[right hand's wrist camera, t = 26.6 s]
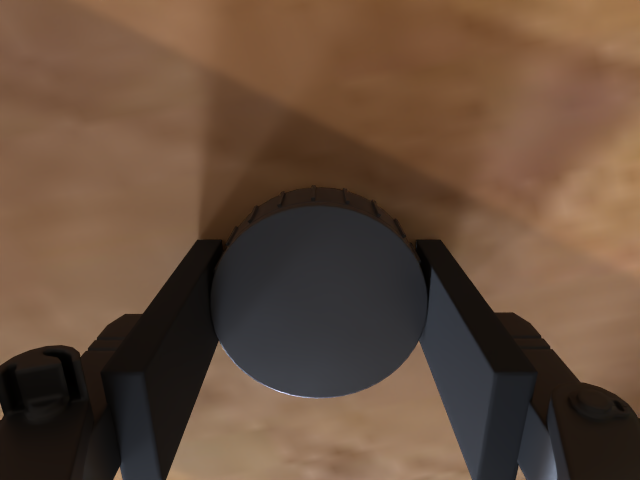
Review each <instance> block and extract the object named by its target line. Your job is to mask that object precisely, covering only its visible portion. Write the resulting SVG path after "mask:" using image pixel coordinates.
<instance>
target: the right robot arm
mask: <svg viewBox="0 0 640 480" xmlns="http://www.w3.org/2000/svg"><path fill="white" fill-rule="evenodd" d="M415 251H416V252H417V254H418V256H419V258H420V260H421V262H422V263H420V266H421V269H422V271H423V273H424V277H425V281H426V285H427V293H428V312H427V317H426V322H425V326H424V329H423V331H422V334H421V337H420V339H419V341H420V344H421V346H422V349H423V352H424V354H425V357H426V359H427V362H428V365H429V367H430V370H431V373H432V375H433V378H434V380H435V383H436V386H437V388H438V391H439V394H440V396H441V399H442V401H443V404H444V407H445V409H446V412H447V415H448V417H449V420H450V423H451V425H452V428H453V430H454V433H455V436H456V438H457V441H458V444H459V446H460V449H461V451H462V454H463V457H464V459H465V462H466V465H467V467H468V470H469V472H470V475H471V478H472V480H516V475H517V470H518V465H519V466H520V468H521V470H522V472H523V474H524V476H525V478H526V480H640V418H638V417H637V415H636V414H635V412H634V411H633V410H632V408H631V407H630V406H629V405H628V404H627V403H626V402H625V401H623V400H622V399H621V398H619V397H618V396H617V395H615V394H613V393H611V392H609V391H607V390H605V389H603V388H601V387H598V386H594V385H590V384H587V383H581V382H580V381H579V380H578V379H577V378H576V376H575V375H574V374H573V373H572V372H571V371H570V369H569V368H568V367H567V366H566V365H565V364H564V362H563V361H562V360H561V359H560V358H559V356H558V355H557V354H556V353H555V352H554V351H553V349H550V346H549V345H548V343H547V342H546V341H545V340H544V339H541V335H540V334H539V333H538V332H537V331H536V329H535V328H534V327H533V326H532V325H531V323H529V322H527V321H526V320H524V319H523V318H521V317H519V316H518V315H516V314H515V313H494V312H493V310H492V309H491V308H490V306H489V305H488V304H487V302H486V301H485V300H484V298H483V297H482V296H481V294H480V293H479V291H478V290H477V289H476V287H475V286H474V285H473V283H472V282H471V281H470V279H469V278H468V277H467V275H466V274H465V272H464V271H463V270H462V268H461V267H460V266H459V264H458V263H457V262H456V260H455V259H454V258H453V256H452V255H451V253H450V252H449V251H448V249H447V248H446V247H445V245H444V244H443V243H442V241H441V240H416V249H415ZM222 253H223V250H222V240H197V241H196V242H195V244H194V245H193V246H192V248H191V249H190V251H189V252H188V253H187V255H186V256H185V257H184V259H183V260H182V261H181V263H180V264H179V265H178V267H177V268H176V270H175V271H174V272H173V274H172V275H171V276H170V278H169V279H168V280H167V282H166V283H165V285H164V286H163V287H162V289H161V290H160V291H159V293H158V294H157V295H156V297H155V298H154V299H153V301H152V302H151V304H150V305H149V306H148V308H147V309H146V310H145V312H144V313H143V314H124V315H123V316H121V317H120V318H118V319H116V320H115V321H113V322H112V323H110V324H108V325H107V326H106V328H105V329H104V330H103V331H102V332H101V334H100V335H99V336H98V337H97V340H95V341H94V342H93V343H92V344H91V345H90V347H89V348H88V351H85V353H84V354H83V355H82V356H81V357H80V353H79V352H78V351H77V350H75V349H74V348H73V347H68V346H63V345H57V346H45V347H41V348H37V349H33V350H29V351H27V352H24V353H22V354H19V355H17V356H15V357H13V358H11V359H10V360H8V361H7V362H5V363H3V364H2V365H0V404H1V407H2V410H3V413H4V416H3V418H2V420H0V480H113V479H114V477H115V475H116V473H117V471H118V469H119V467H120V469H121V474H122V479H123V480H166V478H167V476H168V473H169V470H170V468H171V465H172V462H173V460H174V457H175V454H176V452H177V449H178V447H179V444H180V441H181V439H182V436H183V433H184V431H185V428H186V425H187V423H188V420H189V418H190V415H191V412H192V410H193V407H194V404H195V402H196V399H197V396H198V394H199V391H200V389H201V386H202V383H203V381H204V378H205V375H206V373H207V370H208V367H209V365H210V362H211V360H212V357H213V354H214V352H215V349H216V346H217V344H218V341H219V339H218V337H217V335H216V333H215V330H214V326H213V323H212V319H211V312H210V291H211V284H212V280H213V277H214V274H215V273H213V271H214V268H215V266H216V264H217V263H218V261H219V259H220V257H221V255H222Z"/></svg>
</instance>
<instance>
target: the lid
mask: <svg viewBox="0 0 640 480" xmlns="http://www.w3.org/2000/svg"><path fill="white" fill-rule="evenodd" d="M226 245H227V248H226V250H225V252H224V251H223V253H222V255H221V257H220V259H219V261H218V263H217V264H216V266H215V268H214V271H213V273H215V274H214V277H213V280H212V284H211V291H210V312H211V319H212V323H213V326H214V330H215V333H216V335H217V337H218V339H219V341H220V344H221V345H222V347H223V348H224V350H225V352H226V353H227V355H228V356H229V357H230V358H231V359H232V361H233V362H234V363H235V364H236V365H237V366H238V367H239V368H240V369H241V370H242V371H243V372H245V373H246V374H247V375H249V376H250V377H251V378H253V379H254V380H256V381H258V382H259V383H261V384H263V385H265V386H267V387H269V388H271V389H274V390H276V391H279V392H282V393H285V394H289V395H293V396H299V397H306V398H332V397H339V396H345V395H348V394H352V393H356V392H359V391H361V390H364V389H367V388H369V387H371V386H373V385H375V384H377V383H379V382H380V381H382V380H383V379H385V378H386V377H388V376H389V375H391V374H392V373H393V372H394V371H395V370H396V369H398V368H399V367H400V366H401V365H402V364H403V362H404V361H405V360H406V359H407V358H408V357H409V355H410V354H411V352H412V351H413V350H414V348H415V346H416V345H417V343H418V341H419V339H420V337H421V334H422V331H423V329H424V326H425V322H426V317H427V312H428V293H427V285H426V281H425V277H424V273H423V271H422V269H421V266H420V263H422V262H421V260H420V258H419V256H418V254H417V252H416V251H415V249H414V247H413V245H412V243H408V241H407V239H406V235H405V233H404V232H403V230H402V228H401V226H400V224H399V222H398V220H397V219H395V220H393V219H392V218H391V217H390V216H389V215H388V214H387V213H386V212H385V211H384V210H383V209H381V208H380V207H378V206H377V204H376V202H375V201H374V200H372V201H369V200H367V199H365V198H363V197H361V196H359V195H356V194H353V193H351V192H348V191H347V189H345V188H343V190H338V189H332V188H316V186H315V185H312V188H306V189H300V190H294V191H291V192H288V193H285V191H283V192H281V194H280V195H279V196H277V197H275V198H273V199H270V200H269V201H267V202H265V203H264V204H262V205H261V206H259V207H258V206H257V205H256V206H255V207H254V209H253V211H252V213H251V214H249V215H248V217H247V218H246V219H245V220H244V221H243V222H242V223H241V224H240V226H239V227H237V226H236V227H235V228H234V230H233V232H232V234H231V235H230V237H229V239H228V241H227V243H226Z"/></svg>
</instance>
